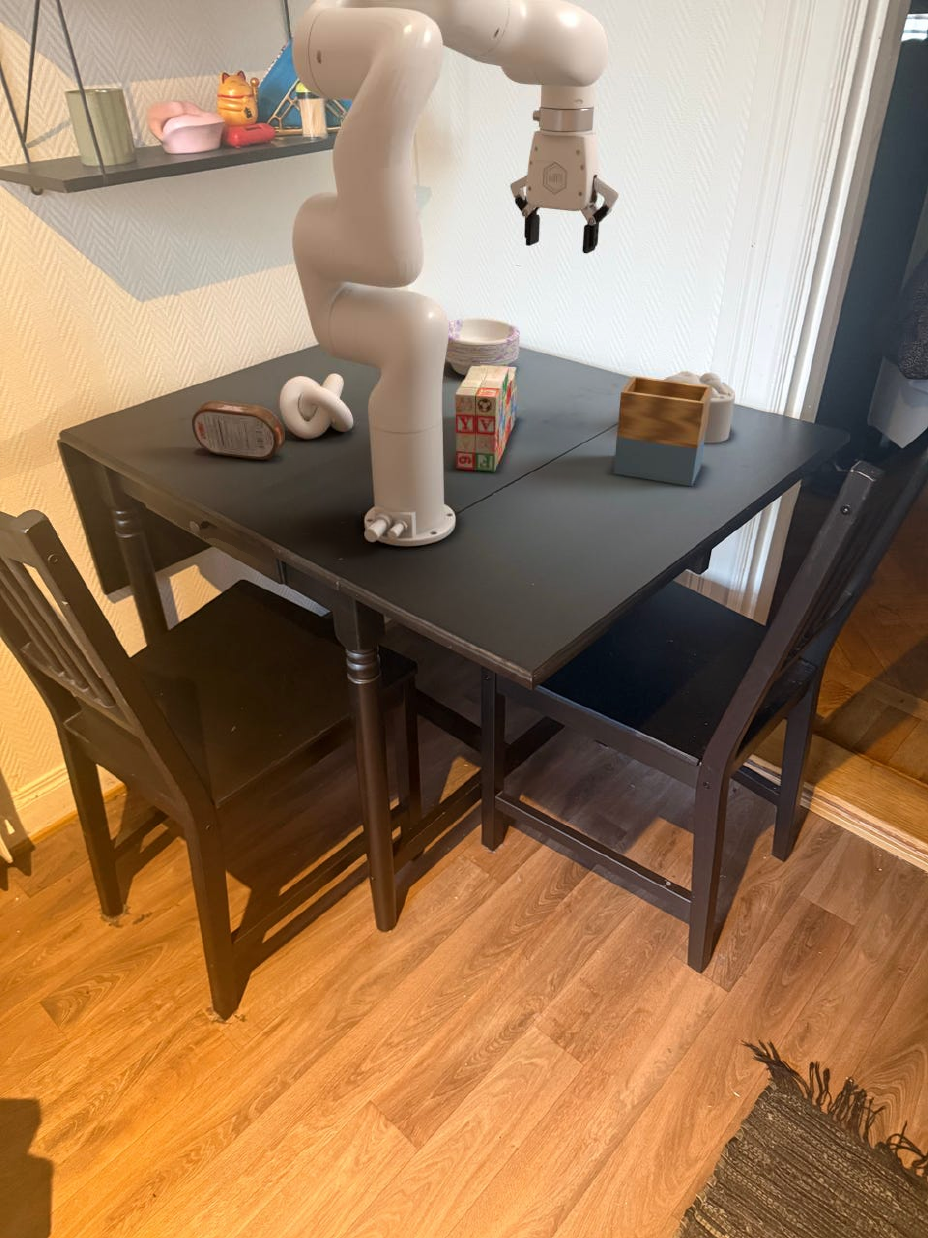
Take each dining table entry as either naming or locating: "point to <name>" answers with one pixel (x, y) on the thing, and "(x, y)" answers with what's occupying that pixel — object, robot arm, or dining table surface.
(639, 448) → the blue basket
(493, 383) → the stack of blocks
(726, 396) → the lumpy-topped squat cylinder
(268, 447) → the tin
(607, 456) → the dining table surface
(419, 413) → the robot arm
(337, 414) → the white knot sculpture
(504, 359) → the paper bowls
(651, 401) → the wooden basket
